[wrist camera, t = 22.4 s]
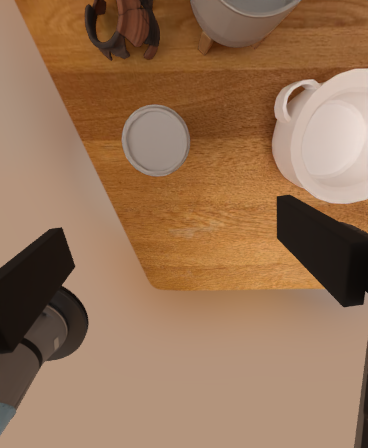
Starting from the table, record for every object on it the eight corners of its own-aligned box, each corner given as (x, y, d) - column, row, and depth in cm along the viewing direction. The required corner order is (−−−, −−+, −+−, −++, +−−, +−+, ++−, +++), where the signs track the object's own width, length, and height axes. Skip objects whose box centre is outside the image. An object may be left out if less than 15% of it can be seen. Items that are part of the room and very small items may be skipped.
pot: (233, 143, 45) (252, 148, 34) (298, 51, 40) (347, 21, 29) (318, 208, 50) (359, 231, 39) (385, 132, 45) (456, 134, 34)
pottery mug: (148, 81, 42) (112, 68, 35) (111, 50, 43) (71, 32, 37) (185, -2, 35) (150, -37, 28) (140, -34, 37) (98, -74, 30)
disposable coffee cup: (125, 148, 45) (107, 154, 34) (150, 98, 42) (141, 87, 31) (169, 175, 47) (167, 190, 36) (197, 130, 44) (204, 130, 33)
